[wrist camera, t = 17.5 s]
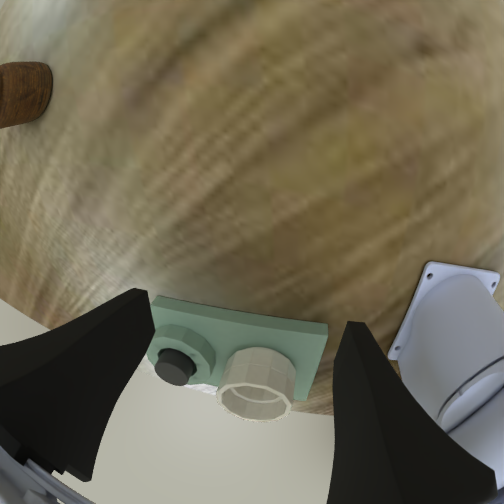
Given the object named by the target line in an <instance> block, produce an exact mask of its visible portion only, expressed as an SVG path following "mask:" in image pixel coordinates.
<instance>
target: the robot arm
mask: <svg viewBox="0 0 504 504" xmlns="http://www.w3.org/2000/svg"><path fill="white" fill-rule="evenodd" d="M429 273H431V275H430V276H428V277H427V275H428V274H429ZM499 280H500V275H499V273H498V272H495V271H489V270H483V269H477V268H471V267H465V266H459V265H452V264H446V263H440V262H433V261H431V262H428V263H427V264H426V266H425V268H424V271H423V274H422V276H421V279H420V282H419V284H418V287H417V290H416V292H415V295H414V297H413V300H412V302H411V305H410V307H409V309H408V312H407V314H406V316H405V318H404V321H403V323H402V325H401V327H400V329H399V332H398V334H397V336H396V338H395V340H394V342H393V344H392V346H391V348H390V350H389V352H388V359H390V360H397V361H398V365H399V369H400V373H401V377H402V381H401V379H400V378H399V376H398V375H397V373H396V372H395V370H394V369H393V367H392V366H391V364H390V362H389V361H388V359H387V358H386V356H385V355H384V353H383V352H382V350H381V348H380V347H379V345H378V343H377V342H376V340H375V338H374V337H373V335H372V334H371V332H370V330H369V329H368V327H367V326H366V324H365V323H364V322H353V321H347V324H346V327H345V331H344V334H343V337H342V339H341V342H340V345H339V348H338V351H337V354H336V357H335V359H334V367H333V406H334V428H335V450H334V460H333V469H332V476H331V482H330V489H329V494H328V499H327V504H504V311H503V310H502V309H501V307H500V306H499V304H498V303H497V302H496V300H495V299H494V298H493V296H492V295H493V293H494V291H495V289H496V287H497V284H498V282H499ZM155 332H156V330H155V325H154V321H153V317H152V312H151V307H150V302H149V297H148V292H147V290H142V289H137V288H132V289H130V290H128V291H126V292H124V293H122V294H120V295H118V296H117V297H115V298H113V299H111V300H109V301H107V302H106V303H104V304H102V305H100V306H98V307H97V308H95V309H93V310H91V311H89V312H88V313H86V314H84V315H82V316H80V317H78V318H76V319H74V320H72V321H70V322H68V323H66V324H64V325H62V326H60V327H58V328H55V329H53V330H51V331H48V332H46V333H43V334H41V335H38V336H35V337H32V338H29V339H25V340H23V341H19V342H16V343H12V344H7V345H2V346H0V504H60V503H58V502H57V498H58V499H59V500H60V501H62V502H63V503H65V504H96V503H94V502H92V501H90V500H89V499H87V498H85V497H84V496H82V495H80V494H79V493H77V492H76V491H74V490H72V489H71V488H69V487H68V486H67V485H65V484H64V483H62V482H61V481H59V480H58V479H56V478H55V477H54V476H52V475H51V474H52V472H53V471H54V470H55V471H57V472H58V473H60V474H61V475H62V474H63V473H64V471H67V472H69V473H70V474H71V475H73V476H75V477H76V478H78V479H79V480H81V481H83V482H88V481H91V479H92V474H93V469H94V464H95V460H96V456H97V452H98V449H99V446H100V442H101V439H102V436H103V434H104V431H105V428H106V426H107V423H108V420H109V418H110V416H111V413H112V411H113V409H114V406H115V404H116V402H117V400H118V398H119V396H120V395H121V393H122V391H123V390H124V388H125V386H126V385H127V383H128V381H129V380H130V378H131V377H132V375H133V373H134V371H135V370H136V369H137V367H138V365H139V364H140V362H141V360H142V359H143V357H144V355H145V354H146V352H147V350H148V348H149V346H150V343H151V341H152V339H153V336H154V334H155ZM397 346H398V347H397Z"/></svg>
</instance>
